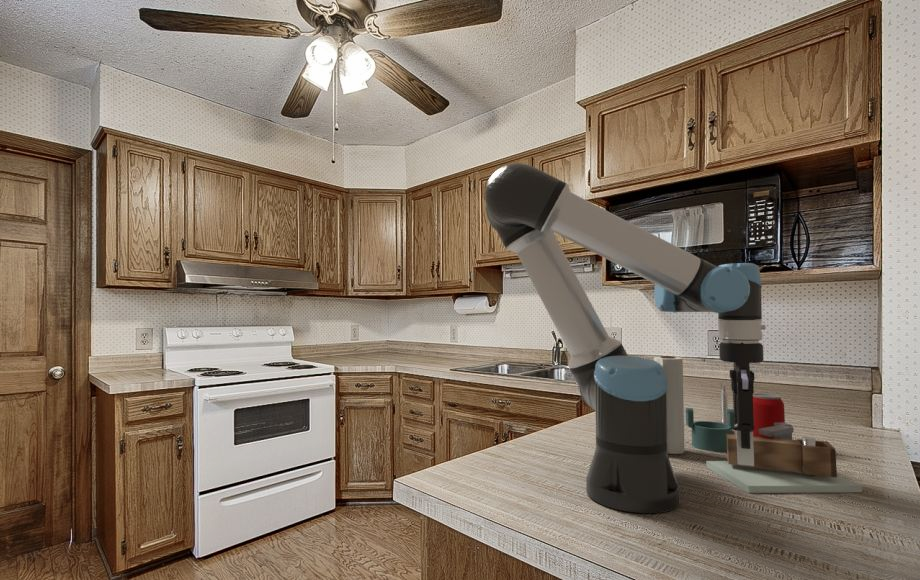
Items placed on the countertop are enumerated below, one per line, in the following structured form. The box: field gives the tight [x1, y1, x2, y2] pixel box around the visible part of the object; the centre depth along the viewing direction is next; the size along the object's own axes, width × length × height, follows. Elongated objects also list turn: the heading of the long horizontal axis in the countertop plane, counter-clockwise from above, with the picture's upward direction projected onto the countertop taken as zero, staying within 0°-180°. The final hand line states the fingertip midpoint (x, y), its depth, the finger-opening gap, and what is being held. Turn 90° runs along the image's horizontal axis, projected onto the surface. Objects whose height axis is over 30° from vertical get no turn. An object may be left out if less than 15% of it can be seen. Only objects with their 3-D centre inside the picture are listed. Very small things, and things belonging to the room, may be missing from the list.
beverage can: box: [753, 393, 786, 438], centre depth 112 cm, size 7×7×12 cm
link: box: [726, 433, 838, 478], centre depth 92 cm, size 17×6×5 cm, turn 65°
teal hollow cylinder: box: [685, 407, 737, 453], centre depth 113 cm, size 9×9×9 cm
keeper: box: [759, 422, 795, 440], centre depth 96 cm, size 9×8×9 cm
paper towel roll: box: [653, 355, 686, 455], centre depth 109 cm, size 7×6×21 cm
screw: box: [715, 381, 729, 424], centre depth 127 cm, size 13×5×5 cm
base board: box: [705, 460, 862, 494], centre depth 91 cm, size 20×14×1 cm
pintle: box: [801, 436, 816, 477], centre depth 90 cm, size 2×2×7 cm
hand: (744, 461), depth 94 cm, fingers closed on link, 3 cm apart
